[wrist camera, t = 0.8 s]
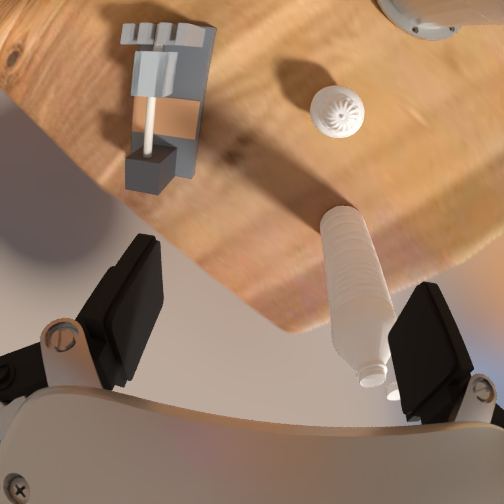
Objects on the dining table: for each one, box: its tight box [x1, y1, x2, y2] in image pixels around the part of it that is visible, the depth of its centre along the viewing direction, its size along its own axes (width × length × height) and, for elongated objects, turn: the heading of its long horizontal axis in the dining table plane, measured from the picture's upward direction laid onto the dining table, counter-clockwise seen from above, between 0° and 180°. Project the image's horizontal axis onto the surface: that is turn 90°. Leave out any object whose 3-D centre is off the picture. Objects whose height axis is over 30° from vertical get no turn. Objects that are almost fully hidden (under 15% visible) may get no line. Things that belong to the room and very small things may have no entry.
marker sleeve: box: [131, 51, 179, 98], centre depth 27 cm, size 5×4×3 cm
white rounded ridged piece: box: [310, 86, 364, 138], centre depth 30 cm, size 6×6×7 cm
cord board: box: [120, 23, 217, 195], centre depth 31 cm, size 20×9×8 cm, turn 169°
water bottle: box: [320, 205, 400, 400], centre depth 32 cm, size 9×6×25 cm
